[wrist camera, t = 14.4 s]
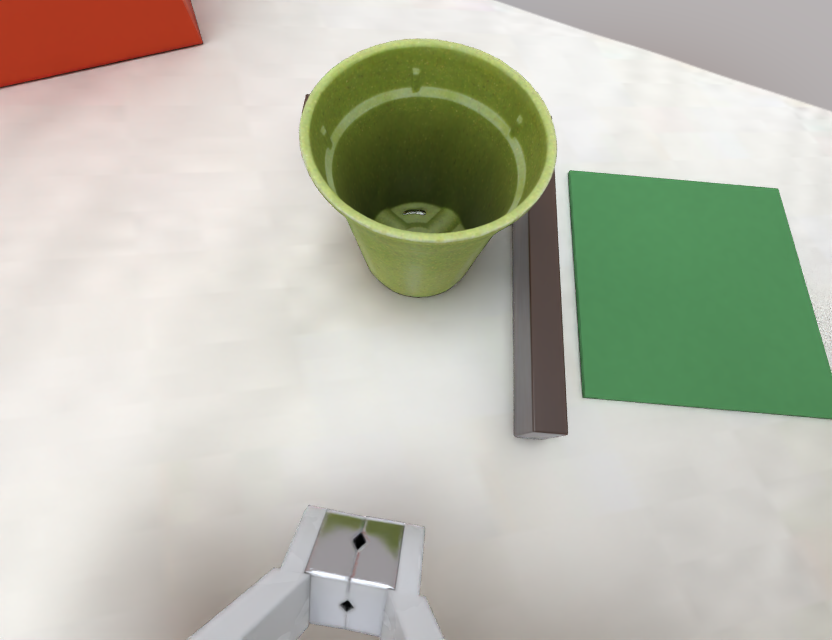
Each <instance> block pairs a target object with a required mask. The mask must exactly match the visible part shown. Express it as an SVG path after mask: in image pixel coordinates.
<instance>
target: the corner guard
mask: <svg viewBox="0 0 832 640" xmlns="http://www.w3.org/2000/svg"><path fill="white" fill-rule="evenodd" d="M309 95H310V94H307V95H306V98H305V102H304V106H305V104H306V101H307V99H308V97H309ZM304 106H303V109H304ZM302 112H303V110H302ZM551 119H552V116H551ZM513 328H514V436H515V437H521V438H533V439H548V438H554V437H559V436H565V435H568V422H567V403H566V383H565V364H564V344H563V325H562V305H561V286H560V266H559V247H558V227H557V208H556V188H555V169H554V171H553V174H552V177H551V179H550V181H549V183H548V185H547V187H546V189H545V191H544V192H543V194H542V195H541V196H540V198H539V199H538V201H537V202H536V203H535V204H534V205H533V206H532V207H531V209H530V210H529V211H528V212H527V213H526V214H524V215H523V216H522V217H521V218H519V219H518V220H517V221H515V222H514V223H513Z"/></svg>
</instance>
